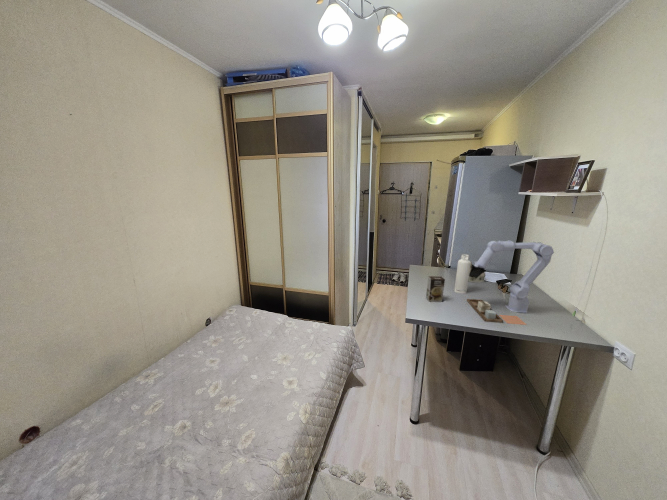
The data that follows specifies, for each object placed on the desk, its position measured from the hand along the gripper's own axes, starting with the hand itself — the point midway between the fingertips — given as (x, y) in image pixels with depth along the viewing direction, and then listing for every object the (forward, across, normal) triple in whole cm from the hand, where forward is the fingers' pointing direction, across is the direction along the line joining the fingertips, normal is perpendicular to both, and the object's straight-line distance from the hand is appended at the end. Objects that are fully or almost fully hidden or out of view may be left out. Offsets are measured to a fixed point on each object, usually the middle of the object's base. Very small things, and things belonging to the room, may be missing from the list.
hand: (472, 277), depth 157 cm
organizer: (+15, -4, +15) cm, 22 cm away
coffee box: (+27, +4, -10) cm, 29 cm away
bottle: (+18, -24, -8) cm, 31 cm away
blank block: (+14, +3, +21) cm, 26 cm away
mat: (+10, -5, +29) cm, 31 cm away
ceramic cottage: (+10, -56, -16) cm, 59 cm away
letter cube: (+15, -4, +15) cm, 21 cm away
